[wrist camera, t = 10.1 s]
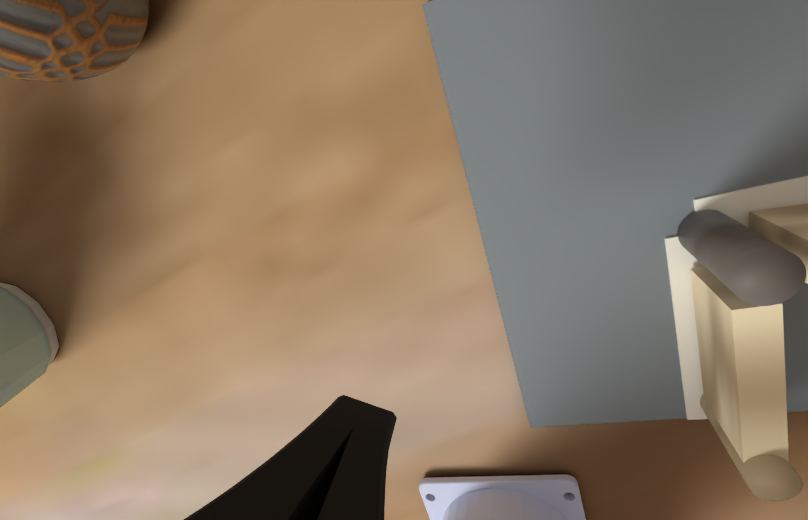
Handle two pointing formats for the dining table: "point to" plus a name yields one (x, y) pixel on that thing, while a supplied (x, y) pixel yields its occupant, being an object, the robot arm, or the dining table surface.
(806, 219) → the fence panel
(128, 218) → the dining table surface
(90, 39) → the vase
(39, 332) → the disposable coffee cup
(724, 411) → the fence fixed
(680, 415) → the card
